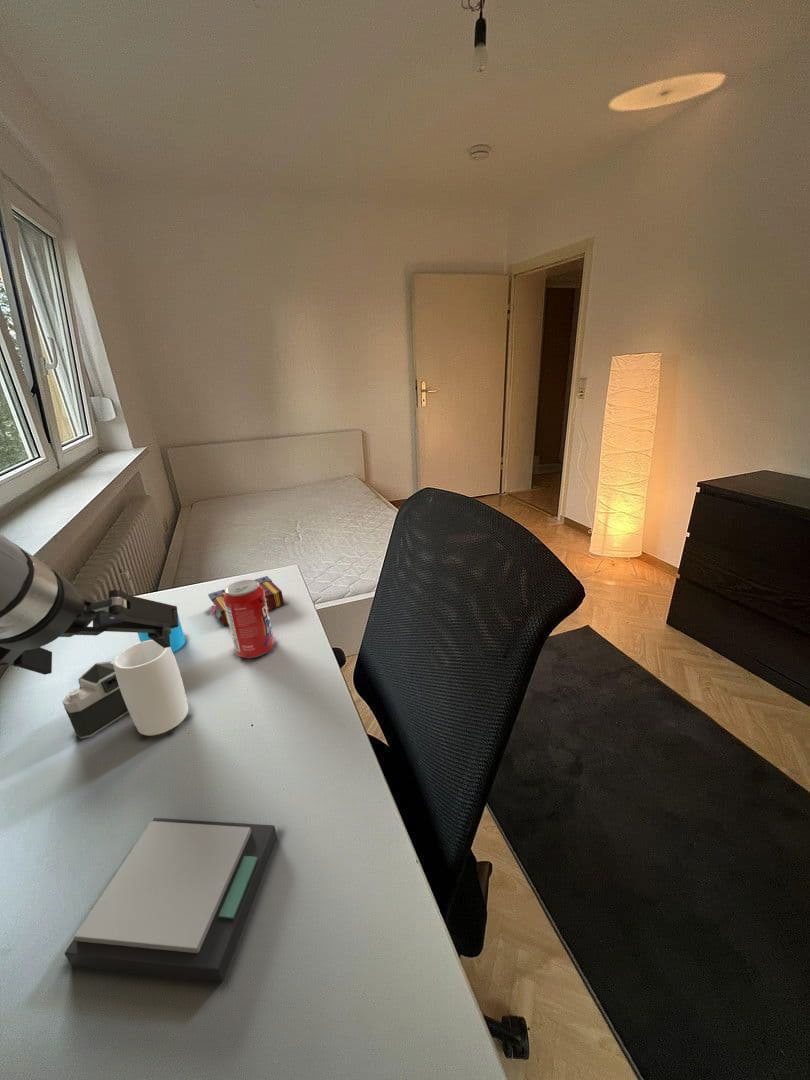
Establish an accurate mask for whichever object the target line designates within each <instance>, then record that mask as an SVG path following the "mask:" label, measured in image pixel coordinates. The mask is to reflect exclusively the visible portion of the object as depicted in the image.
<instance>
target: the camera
mask: <svg viewBox="0 0 810 1080" xmlns="http://www.w3.org/2000/svg"><path fill="white" fill-rule="evenodd" d="M113 663H114V661H104V662H96V663H95V664H93V665H92V666H91V667H90V668H89V669H88V670H87V671H86V672H85V673H83V674H82V675H81V676H80V677H79V678H78V684H79V688H75V689H73V690H72V691H69V693H68V694H67V695H66V696H65V697H64V698H63V700H62V701H61V702H62V705H63V707H64V708H63V709H64V710H65V712H66V714H67V716H68V718H69V721H70V724H71V726H72V728H73V731H74V733H75V735H76V736H77V737H78V738H80V739H86V738H91V737H93V736H94V735H96V734H97V733H99V732H100V731H101V730H103V729H105V728H106V727H108V726H110V725H111V724H113V723H114V722H116V721H117V720H118V719H120V718H122V717H124V716H125V715H126V714H128V713H129V711H128V709H127V706H126V704H125V701H124V699H123V696H122V694H121V691H120V688H119V685H118V681H117V678H116V674H115V670H114V665H113Z"/></svg>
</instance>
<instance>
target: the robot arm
mask: <svg viewBox="0 0 810 1080" xmlns="http://www.w3.org/2000/svg"><path fill="white" fill-rule="evenodd" d="M178 616H179V613H178V606H177V605H172V604H169V603H164V602H160V601H155V600H153V599H146V598H142V597H138V596H135V595H129V594H128V593H126V592H125V591H123V590H121V589H110V590H109V591H108V592H107V598H104V599H100V600H94V599H91V598H87V597H82V596H81V595H80V593H79V592H78V591H77V589H76V588H75V586H74V585H73V584H72V583H71V582H70V581H69V580H68V579H67V578H65V577H64V576H62V575H60V574H59V573H58V572H56V570H54V569H52V568H51V567H50V566H49V565H47V564H46V563H45V562H43V561H41V560H39V559H38V558H36V557H35V556H34V555H32V554H31V553H29V552H28V551H26V550H25V549H23V548H22V547H20V546H19V545H17V544H16V543H15V542H13V541H11V540H10V539H8V537H6V536H5V535H4V534H2V533H1V532H0V667H6V666H12V667H15V668H17V667H18V668H20V669H21V668H22V669H24V670H28V671H31V672H34V673H38V674H41V675H44V676H45V675H49V674H52V672H53V670H52V669H53V651H51V650H48V649H46V648H43V646H46V645H48V644H50V643H52V642H54V641H55V640H57V639H58V638H71V637H74V636H99V635H101V634H103V633H104V632H110V633H111V632H112V633H113V632H114V633H136V634H138V633H148V637H149V638H151V639H152V640H154V641H155V642H156V643H158V644H159V645H161V646H162V647H163V648H167V647H170V637H169V634H171V628H176V627H178V626H179V624H178ZM91 623H92V626H89V625H90V624H91Z"/></svg>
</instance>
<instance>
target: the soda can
mask: <svg viewBox="0 0 810 1080" xmlns="http://www.w3.org/2000/svg"><path fill="white" fill-rule="evenodd" d="M224 590H225V595H224V597H223V601H224V605H225V609H226V614H227V618H228V622H229V624H228V626H229V630H230V634H231V638H232V642H233V646H234V650H235V654H236V655H237V656H238V657H241V658H245V659H251V658H252V659H253V658H257V657H260V656H263V655H265V654H267V653H269V652H270V650H271V649H272V648H273V647H274V645H275V638H274V634H273V629H272V628H273V627H272V623H271V618H270V612H269V611H268V608H267V603H266V598H265V593H264V589H263V588H262V587H261V586H260V585H259V583H258V582H257V581H255V579H243V580H239V581H235V582H233V583H231V584H229V585H227V586H226V587H225V588H224Z"/></svg>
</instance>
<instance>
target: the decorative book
mask: <svg viewBox="0 0 810 1080" xmlns="http://www.w3.org/2000/svg"><path fill="white" fill-rule="evenodd" d="M254 580H255V581H257V582H258V583H259V585H260V586H261V587H262V588H263V589H264V593H265V598H266V603H267V608H268V612H271V611H273V610H274V609H275V608H277V607H278V608H279V607H280V606H284V605H285V602H284V597H283V591H282V590H281V589H280V588H279V587H278V585H276V584H275V583H274V582H273V580H272V579H271V577H269V576H268V575H265V576H262V577H259V578H255V579H254ZM207 595H208V598H209V599H210V601H211V602H212V603H213V605H211V606H210V608H211V609H209V613H210V615H211V616H213V615H214V614H215V616H216V619H217V620H219V621H220V622H221V623H222V626H224V627H225V626H227V625H229V622H228V618H227V614H226V609H225V605H224V601H223V597H224V595H225V588H224V589H221V590H217V591H214V592H211V593H208V594H207ZM214 605H215V606H214ZM211 613H212V614H211Z"/></svg>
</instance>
